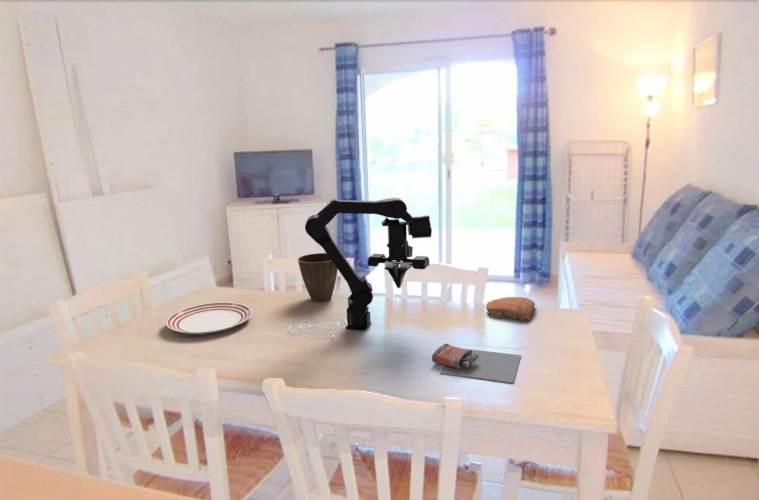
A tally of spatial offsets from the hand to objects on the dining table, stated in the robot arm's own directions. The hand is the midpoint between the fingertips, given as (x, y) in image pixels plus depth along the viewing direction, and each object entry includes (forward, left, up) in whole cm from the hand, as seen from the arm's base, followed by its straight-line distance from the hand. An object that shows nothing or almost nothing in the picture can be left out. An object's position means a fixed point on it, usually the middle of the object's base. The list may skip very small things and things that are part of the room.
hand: (399, 287), depth 160 cm
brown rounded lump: (+32, +20, -13) cm, 40 cm away
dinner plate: (-61, -17, -12) cm, 65 cm away
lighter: (+19, -22, -10) cm, 31 cm away
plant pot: (-37, +16, -12) cm, 42 cm away
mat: (+30, -22, -12) cm, 39 cm away
